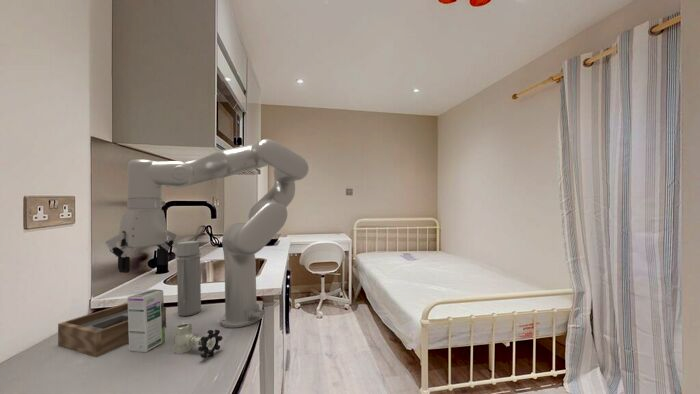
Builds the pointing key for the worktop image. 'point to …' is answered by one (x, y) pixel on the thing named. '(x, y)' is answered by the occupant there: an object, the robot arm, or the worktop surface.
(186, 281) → the water bottle
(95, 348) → the socket box
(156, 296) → the syrup box
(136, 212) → the robot arm
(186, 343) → the valve
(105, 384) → the worktop surface
